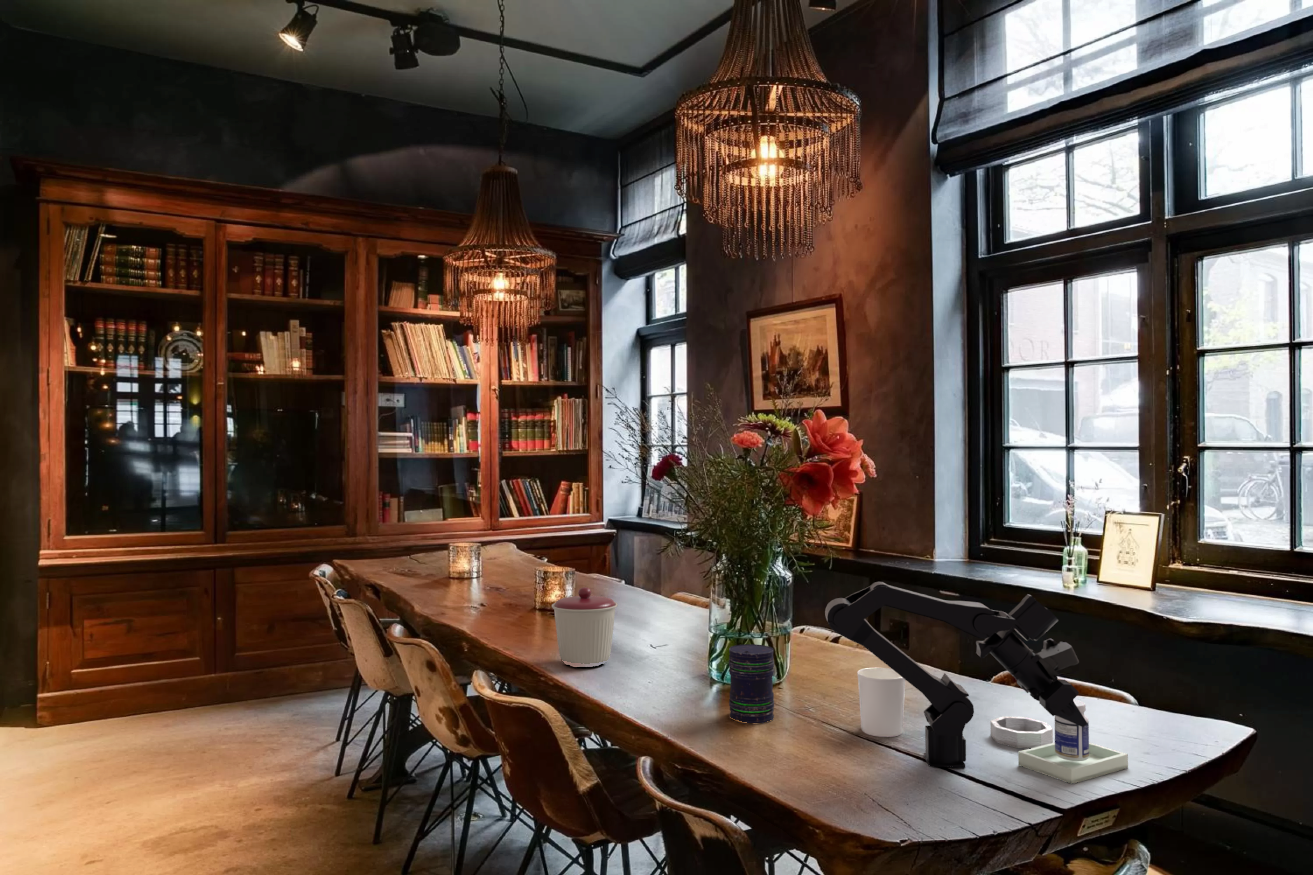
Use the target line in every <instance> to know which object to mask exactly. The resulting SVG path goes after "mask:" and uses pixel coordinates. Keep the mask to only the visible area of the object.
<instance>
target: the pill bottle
mask: <svg viewBox="0 0 1313 875" xmlns="http://www.w3.org/2000/svg"><path fill="white" fill-rule="evenodd" d="M1073 701H1074V703H1075V704H1076V706H1077V708H1078V709H1079V711H1080V712H1081V714H1082V716H1083V717H1084V719H1085V720H1086V722H1087V725H1086V726H1084V727H1081V726H1079V725H1077V724H1074V723H1072V722H1070V721H1068V720H1065V719H1063V718H1061V717H1058V716H1056V715H1055V716H1054V743H1055V754H1056V755H1057V756H1058V757H1060V758H1062V759H1065V760H1070V761H1084V760H1087V759H1088V758H1089V742H1090V734H1089V732H1090V730H1089V729H1090V726H1089V722H1090V721H1089V718H1088V716H1087V715H1086V714H1085V712H1086V706H1087V705H1086V703H1085V702H1084V701H1081V700H1077V699H1073Z"/></svg>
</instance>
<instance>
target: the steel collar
mask: <svg viewBox="0 0 1313 875" xmlns="http://www.w3.org/2000/svg"><path fill="white" fill-rule="evenodd" d="M989 721H990V722H989V723H990V736H991V737H992V739H993V740H994V742H995V743H998V744H1001V745H1005V746H1008V745H1009V746H1008V747H1011V746H1012V747H1011V748H1015V749H1029V748H1035V747H1039V746H1043V745H1047V744H1051V743H1054V740H1053V739H1054V737H1053V735H1054V734H1053V728H1052V727H1051V725H1049V723H1047V722H1046V721H1042V720H1039V719H1034V718H1029V717H1027V716H999V717H997V718H994V719H991V720H989Z"/></svg>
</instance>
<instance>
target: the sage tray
mask: <svg viewBox="0 0 1313 875" xmlns="http://www.w3.org/2000/svg"><path fill="white" fill-rule="evenodd" d="M1017 755H1018V758H1017V759H1018V760H1017V761H1018V766H1020V767H1022V766H1023V768H1026V769H1029V770H1031V771H1033V770H1034V772H1037V773H1039V774H1043V775H1045V776H1047V775H1048V777H1050V776H1051V778H1053V777H1054V778H1053V779H1056V778H1058V779H1060V780H1059V781H1061V780H1063V781H1062V782H1064V781H1065V783H1067V782H1068V783H1067V784H1070V783H1071V784H1070V785H1073V784H1072V783H1074V784H1077V782H1078V783H1080V782H1085V781H1088V780H1091V779H1094V778H1098V777H1101V776H1105V775H1109V774H1111V773H1115V772H1118V771H1122V770H1125V769H1128V768H1129V755H1128V753H1127V752H1126V753H1125V752H1122V751H1118V750H1115V749H1113V748H1109V747H1106V746H1102V745H1099V744H1096V743H1093V742H1090V741H1089V758H1088V759H1087V760H1084V761H1070V760H1065V759H1062V758H1060V757H1058V756H1057V755H1056V754H1055V742H1053V743H1051V744H1047V745H1043V746H1039V747H1035V748H1031V749H1029V748H1026V749H1024V750H1019V751H1018V752H1017ZM1058 779H1057V780H1058Z"/></svg>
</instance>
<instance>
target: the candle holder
mask: <svg viewBox="0 0 1313 875" xmlns="http://www.w3.org/2000/svg"><path fill="white" fill-rule="evenodd" d="M856 674H857V680H858V681H857V684H858V699H859V714H860V727H861V731H862V732H863V733H864V734H866V735H869V736H874V737H880V738H893V737H898V736H900V735H902V734H903V732H904V714H905V712H904V711H905V696H906V695H905V694H906V680H905V679H904V678H903V677H901V676H900V675H899V674H898V673H896V672H895V671H894V670H893V669H891V668H890V667H889V668H888V667H866V668H861V669H859V670H857V672H856Z"/></svg>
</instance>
